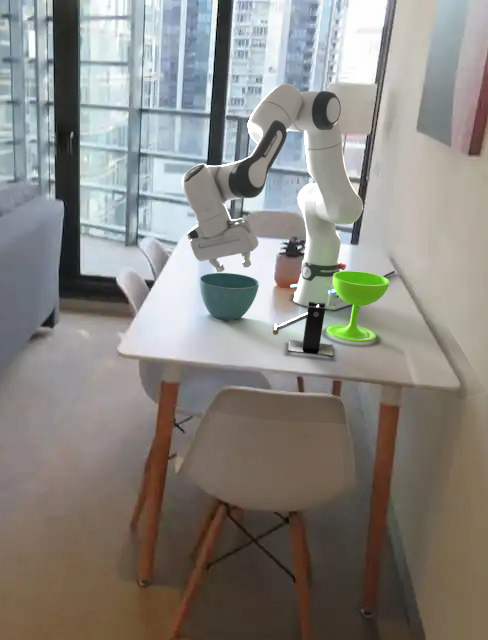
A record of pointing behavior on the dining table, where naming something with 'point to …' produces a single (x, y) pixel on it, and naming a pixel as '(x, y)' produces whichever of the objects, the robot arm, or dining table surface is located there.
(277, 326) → the lever
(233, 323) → the dining table surface
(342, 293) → the wineglass
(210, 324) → the dining table surface
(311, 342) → the bracket
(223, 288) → the teal ceramic bowl
